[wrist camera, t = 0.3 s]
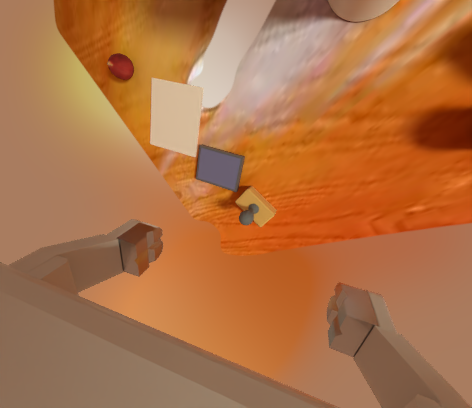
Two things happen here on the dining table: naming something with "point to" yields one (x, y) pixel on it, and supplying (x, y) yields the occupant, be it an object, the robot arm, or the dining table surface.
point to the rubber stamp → (254, 208)
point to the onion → (121, 66)
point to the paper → (175, 116)
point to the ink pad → (219, 167)
